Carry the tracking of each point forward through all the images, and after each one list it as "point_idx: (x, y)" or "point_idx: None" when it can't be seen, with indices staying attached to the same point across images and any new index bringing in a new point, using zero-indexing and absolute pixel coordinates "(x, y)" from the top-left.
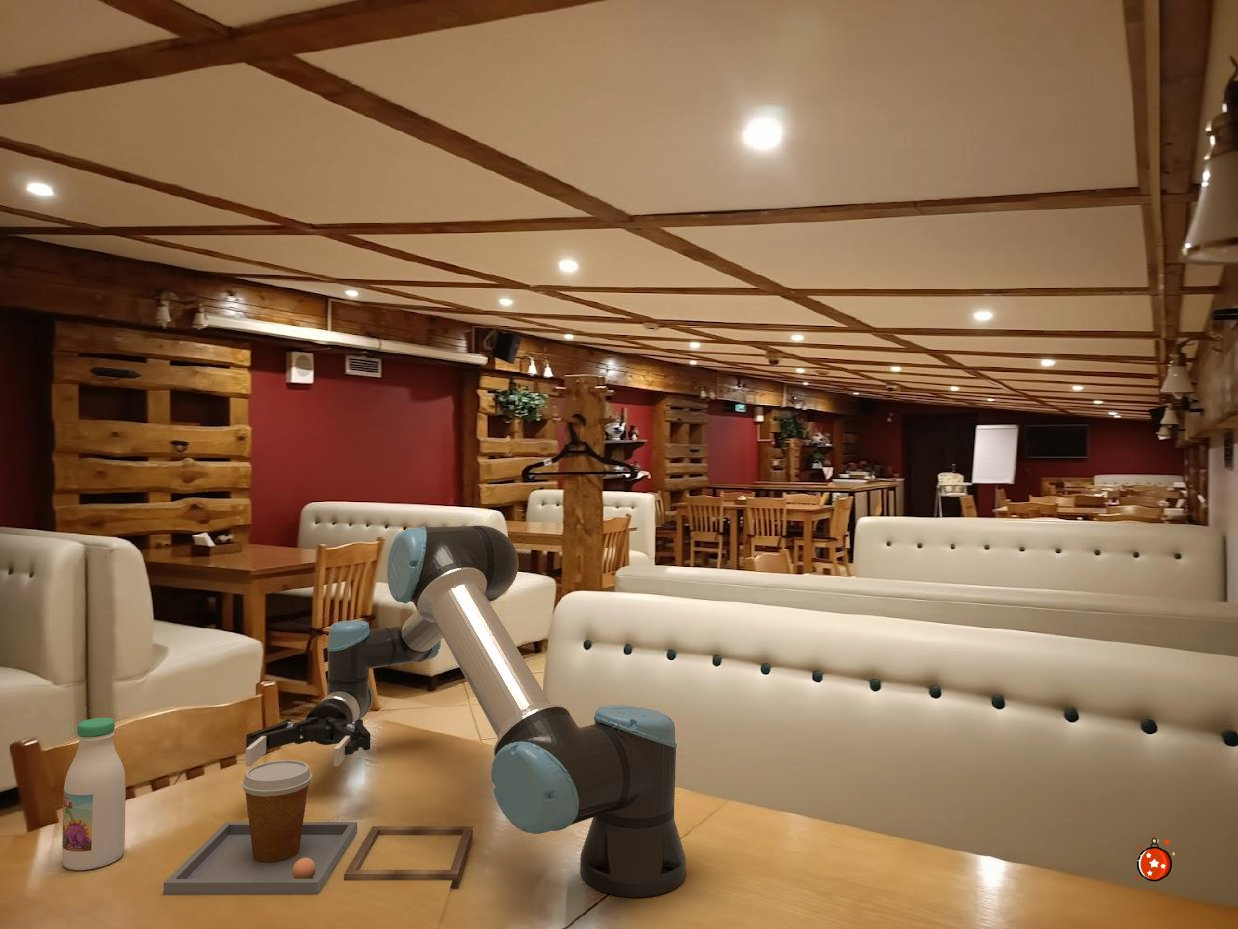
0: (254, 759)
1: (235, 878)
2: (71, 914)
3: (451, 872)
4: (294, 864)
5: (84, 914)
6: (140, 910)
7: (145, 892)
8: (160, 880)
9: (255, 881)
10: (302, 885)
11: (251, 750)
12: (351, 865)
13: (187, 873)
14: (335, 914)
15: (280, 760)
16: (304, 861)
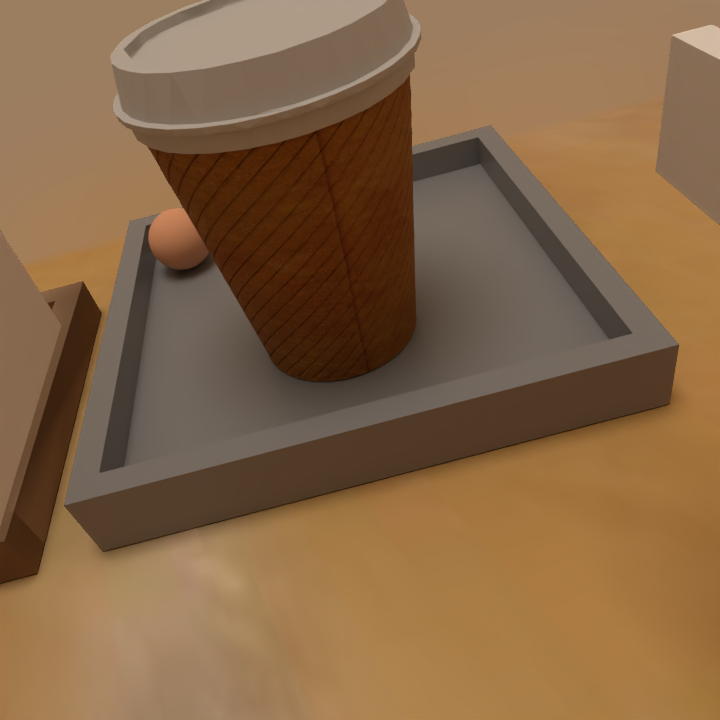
0: (700, 180)
1: None
2: (648, 109)
3: None
4: None
5: (621, 116)
6: (519, 151)
7: (582, 177)
8: (603, 208)
9: None
10: None
11: (679, 59)
12: (67, 311)
13: (500, 181)
14: (104, 252)
15: (298, 43)
16: (166, 210)
